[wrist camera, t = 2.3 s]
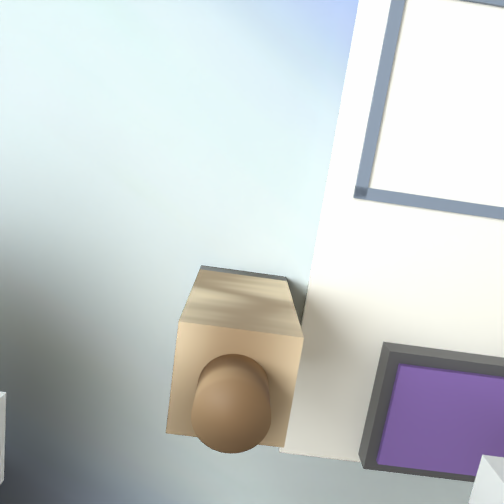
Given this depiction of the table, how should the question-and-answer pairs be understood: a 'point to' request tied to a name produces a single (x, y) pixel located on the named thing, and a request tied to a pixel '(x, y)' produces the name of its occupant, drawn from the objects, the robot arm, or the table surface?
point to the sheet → (405, 211)
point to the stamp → (235, 361)
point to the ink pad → (434, 412)
